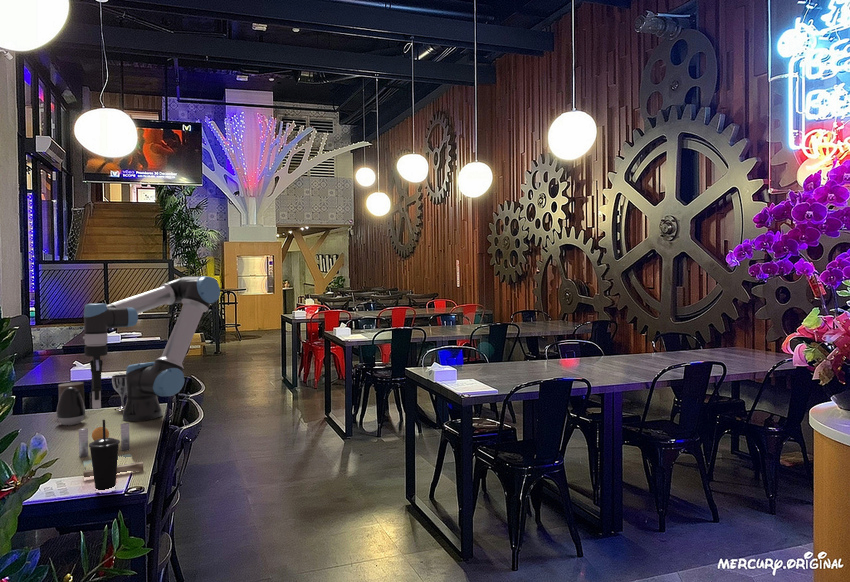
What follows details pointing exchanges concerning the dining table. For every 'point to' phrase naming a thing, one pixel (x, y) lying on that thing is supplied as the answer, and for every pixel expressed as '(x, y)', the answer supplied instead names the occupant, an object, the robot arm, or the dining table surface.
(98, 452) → the drinking cup
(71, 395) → the black tapered dome
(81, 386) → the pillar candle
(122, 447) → the post
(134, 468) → the stopper wall
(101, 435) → the ball
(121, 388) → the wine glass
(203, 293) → the robot arm
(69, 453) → the dining table surface
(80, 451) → the post
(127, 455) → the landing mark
